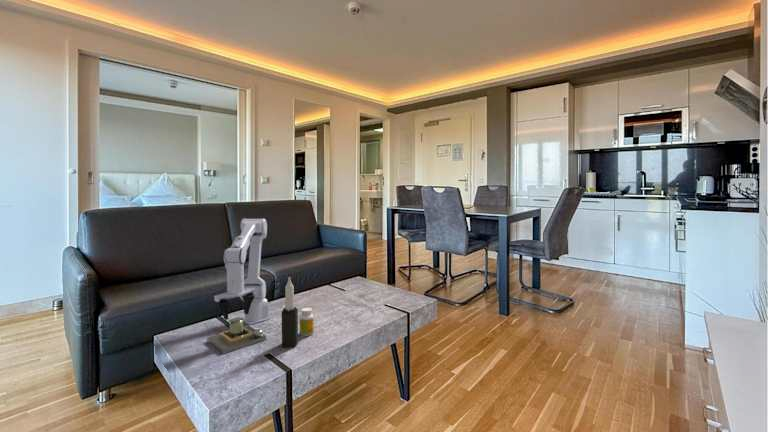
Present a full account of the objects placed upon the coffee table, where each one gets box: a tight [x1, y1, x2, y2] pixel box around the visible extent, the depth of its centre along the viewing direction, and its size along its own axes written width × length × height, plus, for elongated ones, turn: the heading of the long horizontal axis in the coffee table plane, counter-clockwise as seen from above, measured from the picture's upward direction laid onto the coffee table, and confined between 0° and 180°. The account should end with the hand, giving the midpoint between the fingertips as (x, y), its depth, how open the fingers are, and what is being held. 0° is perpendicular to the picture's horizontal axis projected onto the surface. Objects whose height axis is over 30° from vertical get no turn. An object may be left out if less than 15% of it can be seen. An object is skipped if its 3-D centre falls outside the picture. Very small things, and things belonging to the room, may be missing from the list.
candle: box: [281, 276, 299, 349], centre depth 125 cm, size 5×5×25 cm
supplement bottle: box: [299, 307, 315, 337], centre depth 136 cm, size 5×5×10 cm
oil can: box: [229, 316, 244, 339], centre depth 128 cm, size 5×5×10 cm
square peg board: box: [206, 325, 267, 355], centre depth 128 cm, size 16×14×4 cm
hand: (236, 316), depth 128 cm, fingers open, 7 cm apart
